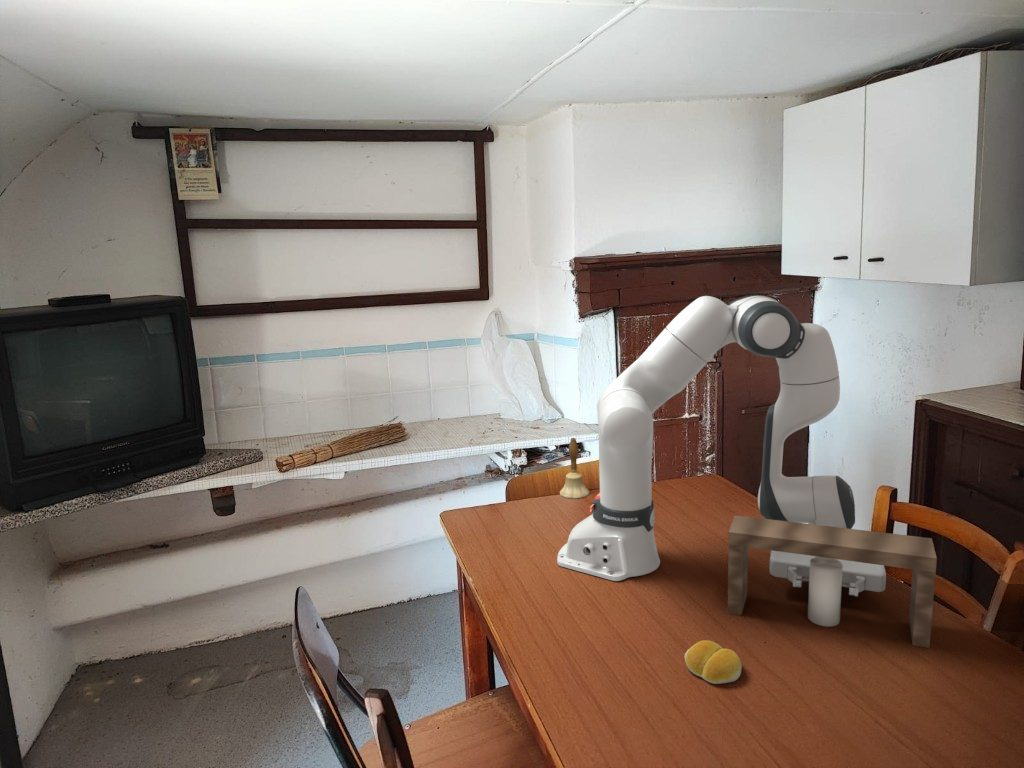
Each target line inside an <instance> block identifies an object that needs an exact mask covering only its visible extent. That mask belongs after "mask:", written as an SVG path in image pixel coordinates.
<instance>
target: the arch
mask: <svg viewBox="0 0 1024 768" xmlns="http://www.w3.org/2000/svg"><path fill="white" fill-rule="evenodd" d="M749 548H751V549H752V548H753V549H759V550H767V551H771V550H773V551H780V552H788V553H795V554H803V555H810V556H817V557H825V558H832V559H840V560H847V561H855V562H862V563H870V564H877V565H884V567H894V568H901V569H909V570H912V577H911V592H910V604H909V616H908V617H909V619H908V623H909V629H910V637H911V644H912V646H915V647H921V648H927V649H930V646H931V632H932V623H933V622H932V621H933V609H934V599H935V598H934V597H935V596H934V595H935V586H936V585H935V584H936V576H937V575H936V572H937V560H938V558H937V554H936V551H935V549H936V548H935V545H934V542H933V538H932V537H923V536H916V535H915V536H914V535H906V534H899V533H889V532H881V531H872V530H871V531H870V530H863V529H856V528H852V529H848V528H839V527H831V526H822V525H814V524H808V523H796V522H788V521H779V520H771V519H765V518H761V517H760V518H759V517H752V516H744V515H734V517H733V520H732V522H731V524H730V527H729V530H728V548H727V549H728V555H727V556H728V557H727V558H728V562H727V564H728V566H727V569H728V570H727V614H730V615H736V616H742V615H743V611H744V607H745V603H746V600H747V597H748V563H749V562H748V557H749V556H748V553H749V552H748V551H749Z"/></svg>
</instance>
